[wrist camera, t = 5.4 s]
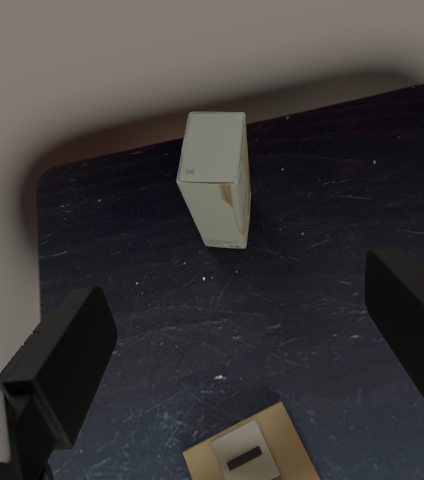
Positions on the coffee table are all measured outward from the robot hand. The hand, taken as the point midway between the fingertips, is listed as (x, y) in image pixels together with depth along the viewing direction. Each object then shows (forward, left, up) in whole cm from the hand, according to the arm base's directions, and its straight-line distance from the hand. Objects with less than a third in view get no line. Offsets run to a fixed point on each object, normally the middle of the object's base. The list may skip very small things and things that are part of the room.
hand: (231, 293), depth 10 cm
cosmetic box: (+3, +12, -21) cm, 24 cm away
